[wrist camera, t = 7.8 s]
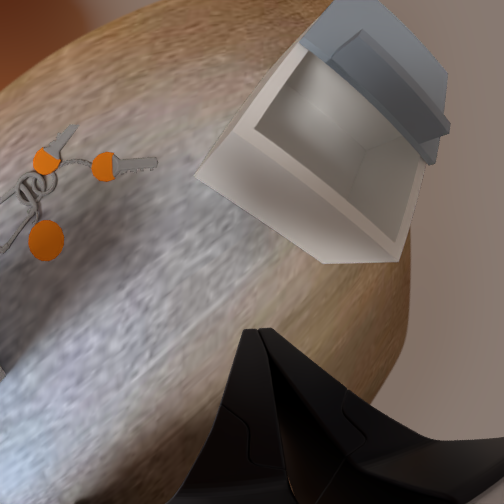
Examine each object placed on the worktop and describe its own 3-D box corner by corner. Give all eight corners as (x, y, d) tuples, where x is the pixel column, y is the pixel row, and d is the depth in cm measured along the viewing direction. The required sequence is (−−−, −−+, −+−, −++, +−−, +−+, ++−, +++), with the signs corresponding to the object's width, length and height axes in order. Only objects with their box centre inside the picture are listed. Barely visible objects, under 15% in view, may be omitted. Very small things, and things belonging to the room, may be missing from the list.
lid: (428, 165, 19) (464, 155, 16) (298, 42, 15) (328, 12, 12) (443, 75, 22) (468, 63, 19) (349, -17, 18) (371, -37, 15)
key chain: (26, 294, 17) (22, 295, 16) (-28, 212, 15) (-33, 210, 14) (164, 170, 21) (166, 166, 20) (106, 97, 19) (106, 92, 18)
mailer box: (322, 263, 25) (398, 261, 17) (193, 176, 21) (231, 130, 14) (368, 152, 28) (433, 126, 20) (268, 70, 24) (319, 16, 16)
